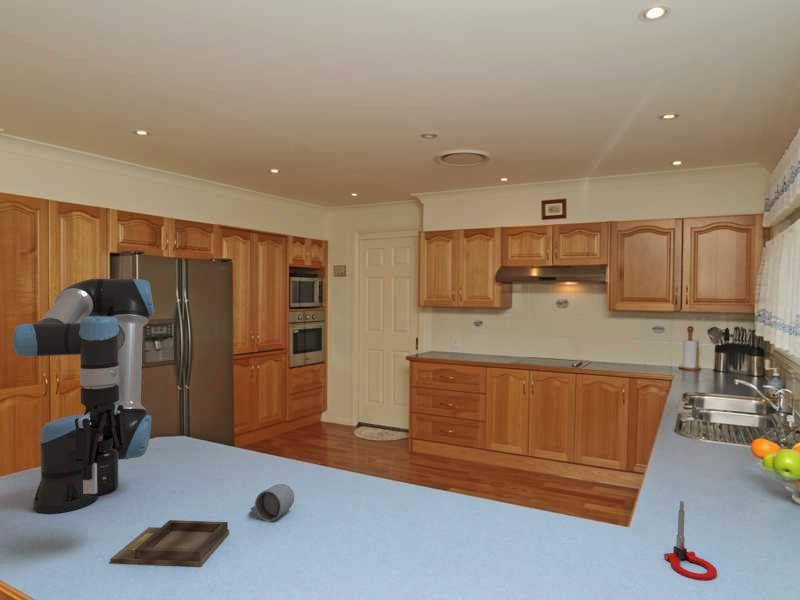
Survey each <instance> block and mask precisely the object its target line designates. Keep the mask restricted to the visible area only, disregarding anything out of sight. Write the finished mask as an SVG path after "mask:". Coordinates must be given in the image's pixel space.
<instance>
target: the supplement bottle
mask: <svg viewBox="0 0 800 600" xmlns="http://www.w3.org/2000/svg"><path fill="white" fill-rule="evenodd" d="M112 446H113V437H112V436H99V440H98V445H97V450H96V455H95V460H94V463H97V493H96V494H85V495H87V496H92V497H96V496H99V497H102V496H108V495H111V494H112V493H114V492H116V491H117V490H118V488H119V460H118V451H117V450H116V449H115V448H113V447H112Z"/></svg>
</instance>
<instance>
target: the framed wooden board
mask: <svg viewBox="0 0 800 600" xmlns="http://www.w3.org/2000/svg"><path fill="white" fill-rule="evenodd" d="M228 524H229V523H228V521H210V520H209V521H205V520H204V521H202V520H180V519H179V520H175V519H174V520H173V519H172V520H171V519H168V521H167V522H165V523H164V524H163V525H162V526H161V527H156V526H155V527H153V526H148V527H147V528H146V529H145V530H143V531H142V532H141V533H140V534H139V535H138V536H136V537H135V538H134V539H133V540H131V541H130V542H129V543H127V544H126V545H125V546H124V547H123V548H122V549H121V550H119V551H118V552H117V553H116V554H114V555H113V556H112V557H111V558H110V559H109V560H110V561H109V562H110V564H119V565H143V566H145V565H146V566H148V565H149V566H167V567H168V566H171V567H192V568H193V567H195V568H201V567H203V565H204V564H205V563H206V562H207V561H208V560H209V558H210V557H211V556H213V554H214V552H216V550H217V549H218V548H219V547H220V546H221V544H222V543H224V541H225V540H226V539H227V537H228V536H229V535H230V529H228Z"/></svg>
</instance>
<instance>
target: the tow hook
mask: <svg viewBox="0 0 800 600" xmlns="http://www.w3.org/2000/svg"><path fill="white" fill-rule="evenodd" d="M684 505H685V502H684V501H683V500H682V501H681V500H680V501H679V510H678V511H677V512H678V514H677V515H678V517H677V519H678V520H677V534H676V545H675V546H673V551H672V552H668V553H667V552H665V553H663V557H664V560H666V561H669V562H670V566H671V567H672V569H673V570H674V571H675V572H677V573H678V574H680V575H681V576H683V577H685V578H688V579H692V580H697V581H700V582H701V581H702V582H703V581H712V580H715V579H716V578H717V575H718V570H717V568H716V567H715V566H714V565H713V564H712V563H711V562H709V561H707V560H706V559H704V558H700V557H698V556H696V553H695V551H687V550H688V548H686V547H685V538H686V537H685V511H684V510H685V508H684V507H685V506H684ZM686 560H688V561H689V562H690V563H694V564H697V565H700V566H702V567H704V568H705V569H706V570H707V571H706V572H705V573H704V572H703V573H702V572H701V573H699V572H695V571H694V572H693V571H691V570H687V568H686V569H685V568H684V567H682V566H681V565H680V564H681V561H686Z"/></svg>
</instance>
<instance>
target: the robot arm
mask: <svg viewBox="0 0 800 600" xmlns="http://www.w3.org/2000/svg"><path fill="white" fill-rule="evenodd" d="M151 288H152V287H151V284H150V282H149V281H148V280H146V279H141V278H138V279H137V278H134V277H132V278H90V279H85V280H82V281H79V282H76V283H74V284H71V285H69V286H68V287H65V288H64V289H63V290H61V291H60V292H59V293H58V294H57V295H56V296H55V299H54V305H52V306H51V307H50V309H48V311H46V313H45V314H44V315H43V316H42V317H41V318H40V319H39V320H38V321H37V322H36V323H32V322H31V323H22V324H19V325H17V326H16V327H15V329H14V331H13V336H12V347H13V350H14V353H15V354H16V355H17V356H20V357H33V358H37V357H53V356H54V357H55V356H70V355H71V356H75V355H77V356H78V355H79V356H80V357H79V358H80V367H79V368H80V369H79V385H80V386H82V387H81V388H80V404H81V405H82V406H84V407H85V410H84V413H79V414H73V415H68V416H64V417H60V418H57V419H54V420H51V421H49V422H47V423H45V424H44V425H43V427H42V428H41V432H40V433H41V434H40V441H39V443H40V473H41V475H40V476H41V477H40V482H39V485H38V486H37V489H36V493H35V496H34V497H33V498H34V499H33V510H34V511H35V512H37V513H39V514H40V513H41V514H61V513H66V512H71V511H75V510H79V509H82V508H84V507H87V506H90V505H91V504H93V503H95V502H96V501H97V500H98V499H99V497H100V496H96V497H92V496H87V495H85V494H96V493H97V463H94V460H95V455H96V450H97V445H98V440H99V436H112V437H113V446H112V447H113V448H115V449H116V450H117V451H118V461H119V460H120V461H121V460H129V459H135V458H136V459H137V458H141V457H143V456H144V455H145V454H146V452H147V450H148V446H149V442H150V437H151V431H152V422H153V421H152V419H153V418H152V415H150V414H147V409H146V408H145V407H144V406H143V405H142V402H141V400H142V376H143V375H142V370H143V368H142V367H143V339H144V337H143V335H144V333H143V332H144V327H145V326H146V325H147V324H149V318H151V317H153V316H154V315H155V310H154V301H153V296H152V295H153V294H152V289H151Z"/></svg>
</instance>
